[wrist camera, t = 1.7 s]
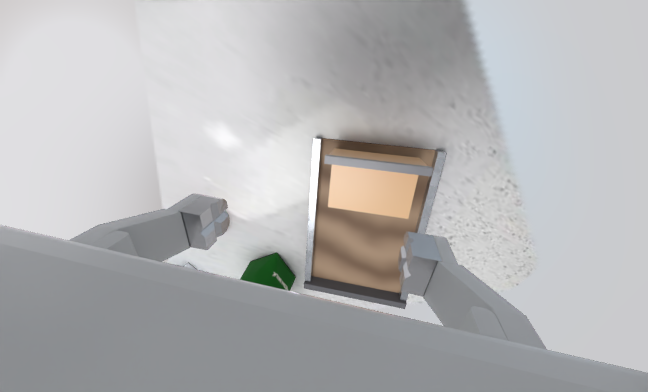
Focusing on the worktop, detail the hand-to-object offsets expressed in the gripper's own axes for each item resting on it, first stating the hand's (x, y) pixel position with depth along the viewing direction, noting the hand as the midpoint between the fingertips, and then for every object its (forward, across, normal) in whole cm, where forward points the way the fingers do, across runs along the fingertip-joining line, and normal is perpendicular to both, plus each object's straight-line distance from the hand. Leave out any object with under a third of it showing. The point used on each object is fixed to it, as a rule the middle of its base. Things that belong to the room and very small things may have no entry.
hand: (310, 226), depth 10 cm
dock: (+24, -3, +14) cm, 28 cm away
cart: (+23, -3, +7) cm, 24 cm away
